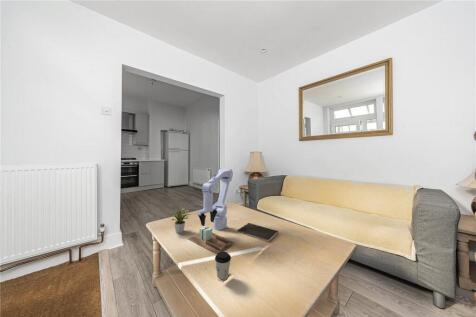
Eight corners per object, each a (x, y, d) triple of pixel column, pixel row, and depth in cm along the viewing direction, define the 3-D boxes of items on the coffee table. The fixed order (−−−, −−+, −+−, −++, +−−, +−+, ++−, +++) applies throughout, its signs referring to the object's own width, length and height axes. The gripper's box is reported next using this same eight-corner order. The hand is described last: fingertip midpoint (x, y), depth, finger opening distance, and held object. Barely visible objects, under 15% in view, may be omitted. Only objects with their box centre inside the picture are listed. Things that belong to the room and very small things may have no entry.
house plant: (174, 239, 104) (175, 213, 104) (163, 233, 113) (163, 208, 112) (193, 231, 116) (194, 207, 115) (181, 226, 124) (182, 204, 124)
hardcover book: (268, 243, 103) (268, 239, 103) (237, 233, 116) (237, 229, 116) (277, 233, 116) (277, 230, 116) (249, 225, 129) (249, 222, 129)
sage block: (205, 235, 109) (205, 224, 109) (212, 238, 105) (212, 227, 105) (199, 238, 105) (199, 227, 104) (205, 241, 101) (205, 230, 101)
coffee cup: (230, 272, 76) (231, 250, 76) (230, 283, 69) (231, 259, 69) (215, 272, 76) (215, 250, 76) (213, 283, 69) (214, 259, 69)
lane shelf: (207, 231, 116) (207, 228, 116) (235, 244, 100) (235, 240, 100) (187, 240, 103) (187, 236, 103) (216, 256, 88) (216, 251, 88)
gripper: (203, 205, 98) (202, 229, 98) (220, 201, 110) (220, 221, 110) (195, 203, 103) (195, 225, 103) (213, 199, 114) (212, 219, 114)
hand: (207, 223), depth 107 cm, fingers open, 7 cm apart
